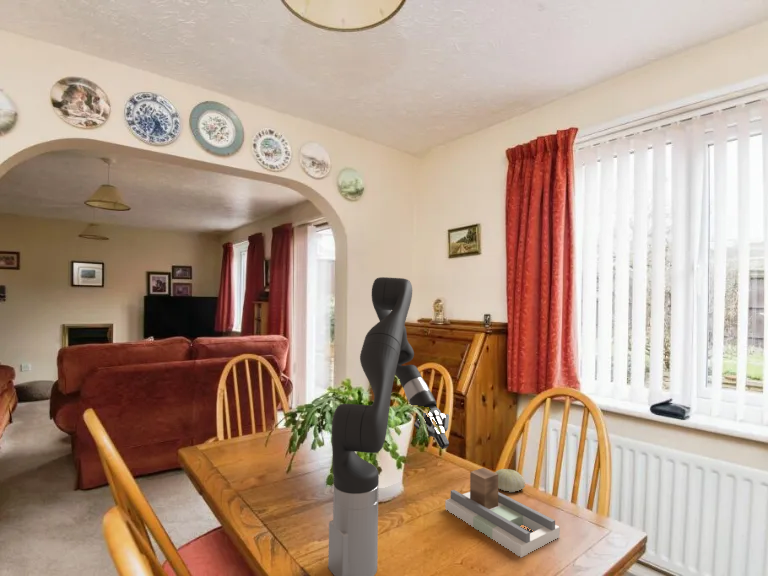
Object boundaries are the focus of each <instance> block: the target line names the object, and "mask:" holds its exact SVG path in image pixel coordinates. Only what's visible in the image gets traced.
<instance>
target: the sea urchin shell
mask: <svg viewBox="0 0 768 576" xmlns="http://www.w3.org/2000/svg"><path fill="white" fill-rule="evenodd" d="M494 473H496V474H498V488H499V489H498V490H500V489H501V491H502V490H504V491H503V492H505V491H509V492H508V493H515V491H518V492H520V491H519V490H521V489H523V488H524V489H525V487H526V482H525V478H524V477H523V475H522V474H520V472H518V471H516V470H514V469H510V468H500V469H498V470H496V471H495V472H494ZM524 484H525V485H524ZM524 489H523V490H524ZM521 491H522V490H521Z"/></svg>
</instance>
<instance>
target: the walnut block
mask: <svg viewBox="0 0 768 576" xmlns="http://www.w3.org/2000/svg"><path fill="white" fill-rule="evenodd" d="M469 477H470V478H469V479H470V481H469V482H470V483H469V486H470V487H469V488H470V489H469V492H470V499H471V500H473V501H475V502H477V503H479V504H480V505H482V506H484V507H486V508H487V509H491V508H494V507H496V506H498V492H499V489H498V474H496V473H495V472H494V471H492V470H490V469H488V468H486V467H481V468H478V469H475V470H472V471H470V476H469Z"/></svg>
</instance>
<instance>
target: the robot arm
mask: <svg viewBox="0 0 768 576" xmlns="http://www.w3.org/2000/svg"><path fill="white" fill-rule="evenodd" d="M412 298H413V285H412V283H411V282H410V280H409V279H407V278H403V277H402V278H401V277H383V276H382V277H377V278H375V279H374V281H373V283H372V285H371V302H372V305H373V308H374V311H375V313H376V316H377V318H378V322H377V323H376V324H375V325H373V326H372V327H371V328H370V329H369V331H368V332H367V333H366V335H365V336H364V340H363V342H362V343H363V344H362V347H361V351H360V355H359V359H360V360H359V361H360V362H359V363H360V365H361V368H362V370H363V373H364V374H365V376H366V378H367V380H368V382H369V385H370V386H371V389H372V390H371V391H372V392H373V397H374V399H373V402H372V404H359V403H358V404H355V403H341V404H339V405H338V406H337V407H336V409H335V411H334V413H333V416H332V417H333V418H332V423H331V447H332V448H331V450H332V474H333V504H332V505H333V506H332V508H333V509H332V520H330V521H329V523H328V562H327V563H328V564H327V565H328V567H327V568H328V570H329V571H330V572H331V574H333V576H376V573H377V572H378V550H379V549H378V547H379V545H378V542H379V537H378V536H379V482H380V481H379V470H378V469H377V467H376V466H375V465H374V464H373V463H371V462H369V461H367V460H365V459H363V458H362V457H361V456H359V455H358V454H357V452H359V453H365V454H366V453H369V454H371V453H372V454H377V453H379V452H380V451H382V448H383V447H384V444H385V441H386V437H387V430H388V424H389V415H390V407H391V406H390V405H391V399H392V391H393V385H394V380H395V376H396V377H397V379H398V381H399V383H400V385H401V387H402V388H403V391H404V394H405V396H406V399H407V401H408V403H409V404H411V405H418V406H424V407H429V408H430V409H431V410H430V411H429V413H428V415H429V417H430V418H429V417H427V415H426V413H423V416H424V419H425V421H426V424H427V427H428V430H427V431H428V432H429V436H427V437H428V438H434V439H435V440H436V443H437V445H438V446H439V448H440V449H441V450H444V449H447V448H448V447H449V446H450V442H449V439H448V438H447V436H446V434H445V433H446V432H447V431H448V430H449V423H450V415H449V414H448V413H442V412H441V410H440V409H439V407H437V401H436V398H435V396H434V395H433V393H432V392H431V390H430V387H429V386H428V384H427V382H426V381H425V380H424V378H423V377H422V375H421V372H420V371H419V369H418V367H417V366H416V365H414V364H407V363H409V362H411V361H412V360H413V358H414V357H415V352H414V349H413V347H412V345H411V344H410V342H409V341H408V335H407V327H406V326H405V325H406V321H407V320H406V319H407V317H408V314H409V310H410V308H411V307H410V306H411V303H412ZM404 364H406V365H404ZM399 379H400V380H399ZM411 405H410V406H411ZM416 418H417V419H416V421H415V422H414V423H413V426H414V428H416V429H417V430H419V425H420V421H419V419H418V417H417V416H416ZM432 419H433V420H434V421H435V422H436V424H437V425H438V426H439V427H440V429H441V434H440V432H439V431H438V430H437V428H436V427H435V426H434V425H433V422H432Z"/></svg>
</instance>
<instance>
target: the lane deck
mask: <svg viewBox="0 0 768 576" xmlns="http://www.w3.org/2000/svg"><path fill="white" fill-rule="evenodd" d="M444 506H445V509H446V510H445V509H444V510H445V511H447V510H448V511H449V512H448V511H447V512H448V513H450V514H451V513H452V514H451V515H453V514H454V515H455V517H456V516H457V517H456V518H458V519H459V518H460V519H459V520H461V519H462V520H463V521H462V520H461V521H462V522H464V521H465V522H466V524H467V523H468V524H467V525H469V526H470V525H471V526H470V527H472V528H473V527H474V529H475V530H477V531H478V530H479V531H478V532H479V533H481V532H482V534H483V533H484V534H485V535H484V534H483V535H484V536H486V535H487V536H486V537H488V538H489V537H490V538H489V539H491V540H492V539H493V540H492V541H494V540H495V541H496V542H495V541H494V542H495V543H497V542H498V543H497V544H499V545H500V544H501V545H500V546H502V547H503V546H504V547H503V548H505V549H506V548H507V549H506V550H508V549H509V550H508V551H509V552H511V551H512V552H511V553H512V554H514V553H515V555H516V556H517V557H519V556H520V557H519V558H523V557H525V556H527V555H529V554H531V553H532V551H533V552H535V551H536V549H537V550H539V549H541V548H542V546H543V547H544V545H545V544H547V543H548V544H550V543H552V542H554V541H556V540H558V539H560V538H561V535H560V534H561V530H560V529H561V527H560V526H559V525H557V524H556V520H555V519H553V518H551V517H549V516H547V515H545V514H543V513H541V512H539V511H537V510H535V509H534V508H531V507H529V506H527V505H526V504H523V503H521V502H519V501H517V500H515V499H514V498H511V497H509V496H507V495H505V494H504V493H501V492H499V491H498V506H496V507H494V508H491V509H487V508H486V507H484V506H482V505H480V504H479V503H477V502H475V501H473V500H471V499H470V491H468V492H465V493H460V492H459V491H457V490H455V489H452V490H450V497H449V498H448V499H445V505H444ZM454 515H453V516H454ZM465 522H464V523H465ZM521 525H524V526H526V527H528V528H529V529H531V530H530V531H529V529H528V528H527V530H526V529H524V528H525V527H524V528H522V527H520V526H521ZM532 530H533V531H534V532H533V531H532ZM559 537H560V538H559ZM557 538H558V539H557ZM555 539H556V540H555ZM553 540H554V541H553ZM551 541H552V542H551ZM549 542H550V543H549ZM548 544H547V545H548ZM545 546H546V545H545ZM540 547H541V548H540ZM538 548H539V549H538ZM534 550H535V551H534ZM530 552H531V553H530ZM528 553H529V554H528Z"/></svg>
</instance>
